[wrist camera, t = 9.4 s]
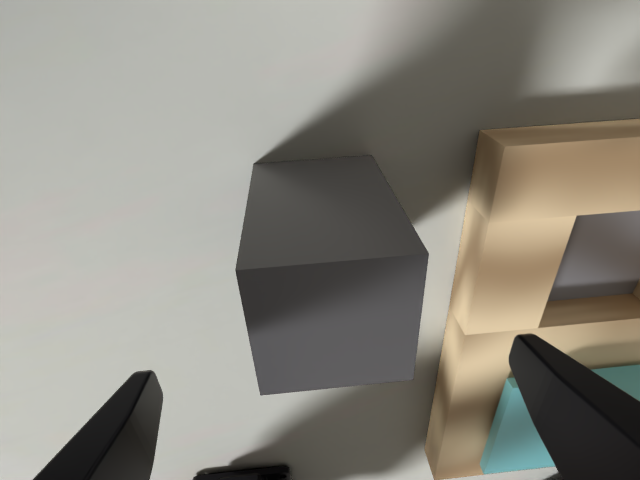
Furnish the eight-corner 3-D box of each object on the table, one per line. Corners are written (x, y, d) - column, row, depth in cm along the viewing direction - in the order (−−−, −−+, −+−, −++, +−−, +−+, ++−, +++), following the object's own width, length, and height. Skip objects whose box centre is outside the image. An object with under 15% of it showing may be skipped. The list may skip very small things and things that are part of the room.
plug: (368, 252, 18) (413, 379, 12) (267, 260, 17) (260, 395, 11) (371, 154, 15) (428, 253, 9) (253, 163, 15) (235, 270, 9)
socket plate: (606, 429, 27) (628, 458, 26) (424, 449, 27) (434, 480, 25) (795, 107, 16) (858, 120, 14) (479, 130, 15) (504, 146, 13)
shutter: (604, 450, 24) (637, 495, 22) (479, 464, 24) (499, 511, 22) (658, 362, 20) (705, 407, 18) (506, 378, 20) (535, 426, 17)
